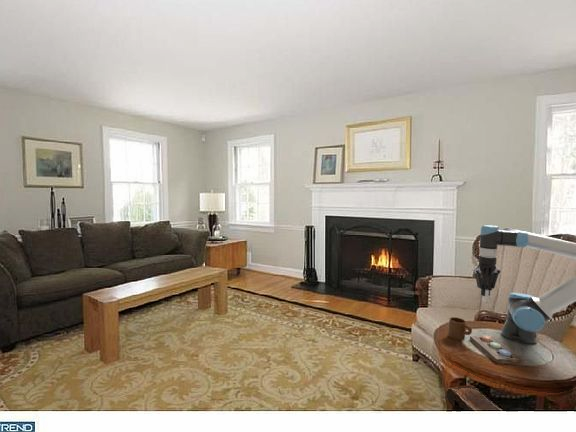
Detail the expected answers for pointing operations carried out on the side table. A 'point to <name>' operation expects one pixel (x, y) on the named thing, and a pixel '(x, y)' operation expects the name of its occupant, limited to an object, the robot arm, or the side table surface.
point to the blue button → (504, 353)
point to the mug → (458, 329)
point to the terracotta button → (486, 339)
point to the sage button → (495, 346)
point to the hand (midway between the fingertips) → (484, 301)
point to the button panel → (496, 351)
